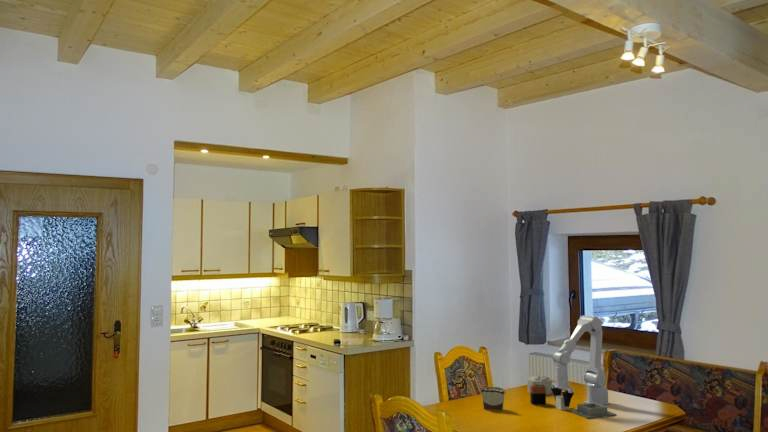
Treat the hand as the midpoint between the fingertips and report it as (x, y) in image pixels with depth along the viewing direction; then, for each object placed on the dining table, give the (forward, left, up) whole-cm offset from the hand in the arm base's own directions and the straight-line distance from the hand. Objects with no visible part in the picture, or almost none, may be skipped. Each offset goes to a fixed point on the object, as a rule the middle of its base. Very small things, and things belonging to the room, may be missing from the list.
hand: (562, 404), depth 285 cm
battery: (+6, -12, -2) cm, 14 cm away
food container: (+31, -12, -2) cm, 33 cm away
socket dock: (-8, +12, -2) cm, 15 cm away
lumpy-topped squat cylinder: (-9, -32, -2) cm, 33 cm away
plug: (0, 0, -2) cm, 2 cm away
